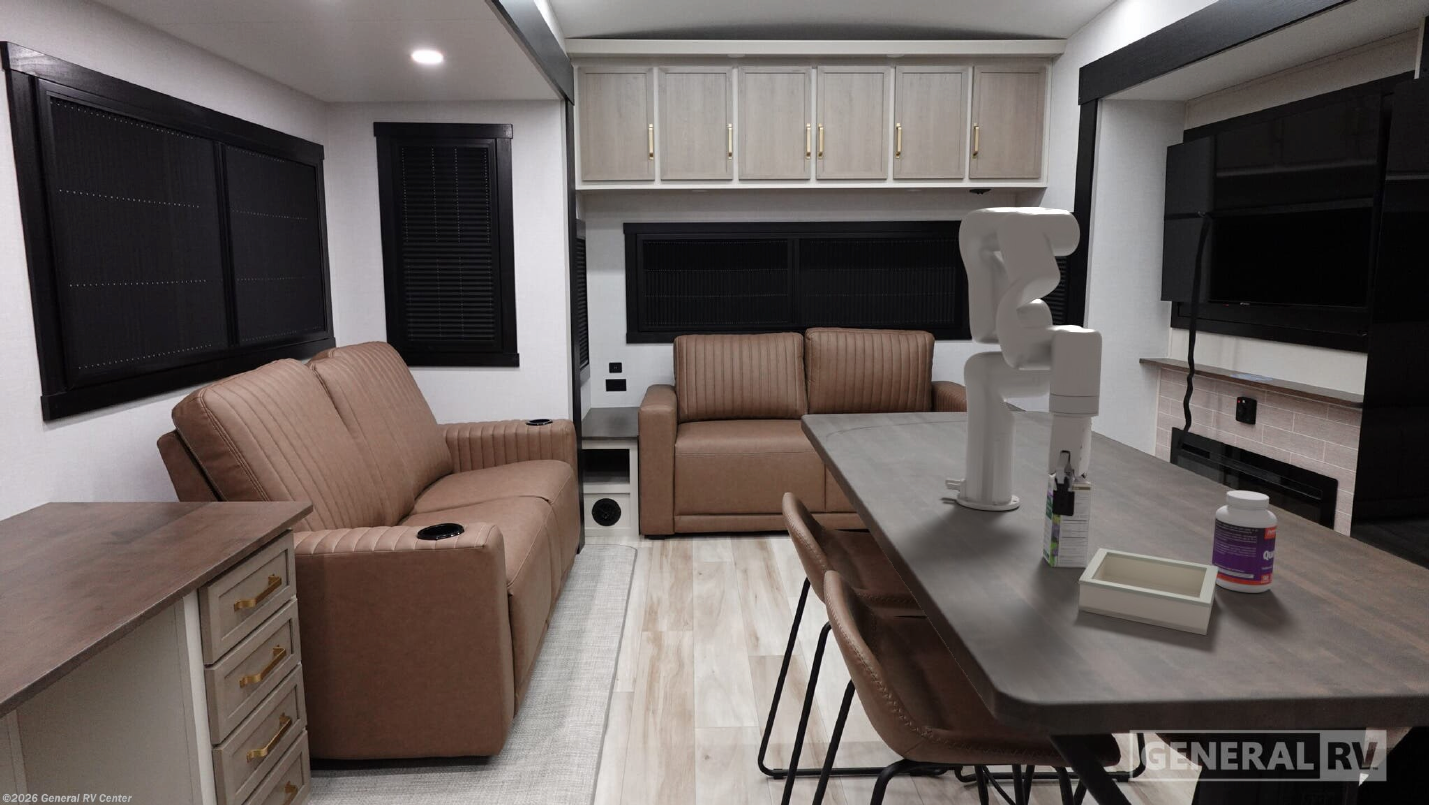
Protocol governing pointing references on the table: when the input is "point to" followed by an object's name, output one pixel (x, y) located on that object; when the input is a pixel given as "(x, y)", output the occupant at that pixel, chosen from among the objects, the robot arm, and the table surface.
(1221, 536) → the pill bottle
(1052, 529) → the syrup box
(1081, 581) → the bin
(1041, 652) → the table surface
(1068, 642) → the table surface
